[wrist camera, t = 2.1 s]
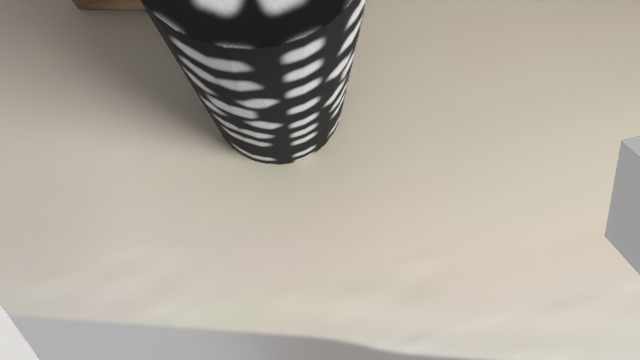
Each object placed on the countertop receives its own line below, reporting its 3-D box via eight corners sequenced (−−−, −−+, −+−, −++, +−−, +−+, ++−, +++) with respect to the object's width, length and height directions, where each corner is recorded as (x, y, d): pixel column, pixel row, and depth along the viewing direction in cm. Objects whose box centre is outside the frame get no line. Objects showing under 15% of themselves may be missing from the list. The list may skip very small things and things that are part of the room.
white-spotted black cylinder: (309, 19, 39) (312, -233, 20) (363, 131, 38) (425, -15, 19) (192, 69, 39) (74, -139, 19) (244, 185, 38) (177, 92, 18)
